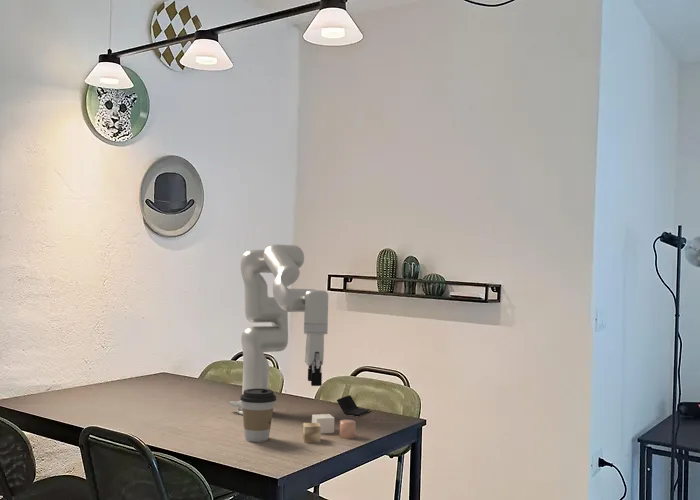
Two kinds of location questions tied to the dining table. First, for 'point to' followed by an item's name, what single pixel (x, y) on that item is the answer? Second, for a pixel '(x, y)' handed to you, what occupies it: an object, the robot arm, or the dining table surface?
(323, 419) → the white block
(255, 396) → the coffee cup
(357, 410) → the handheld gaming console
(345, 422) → the terracotta cylinder
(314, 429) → the maple cube
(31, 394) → the dining table surface
